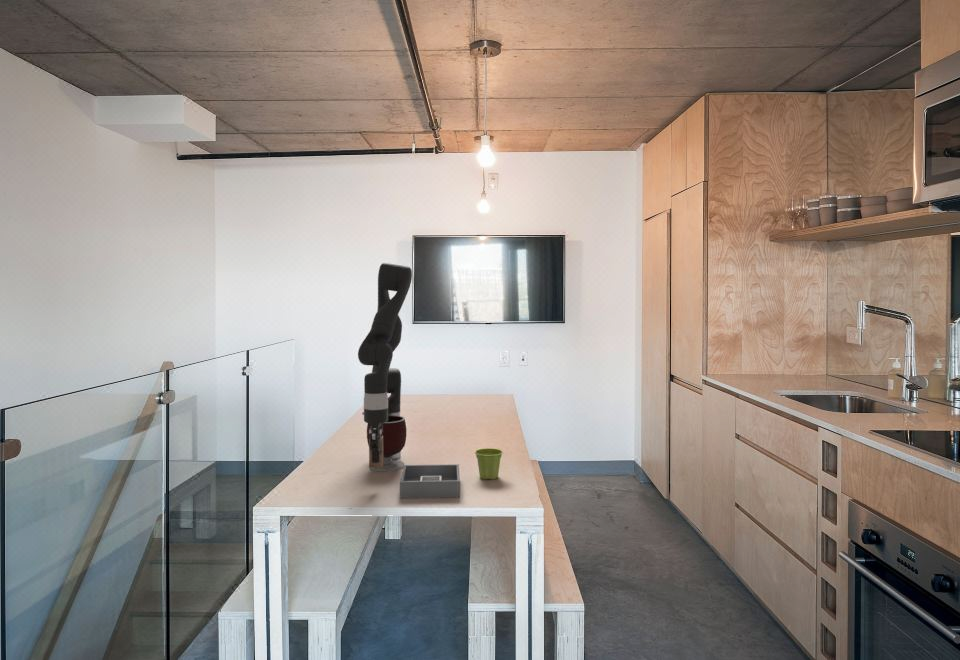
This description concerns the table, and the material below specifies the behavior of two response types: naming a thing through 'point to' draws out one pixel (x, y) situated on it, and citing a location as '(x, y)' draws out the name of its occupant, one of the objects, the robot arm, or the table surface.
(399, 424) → the mate gourd
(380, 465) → the brown block
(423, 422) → the table surface
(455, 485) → the grey square tray
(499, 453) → the plant pot
